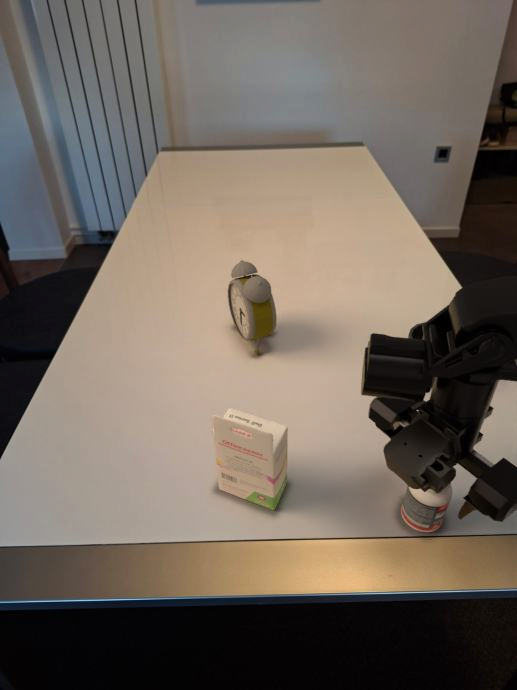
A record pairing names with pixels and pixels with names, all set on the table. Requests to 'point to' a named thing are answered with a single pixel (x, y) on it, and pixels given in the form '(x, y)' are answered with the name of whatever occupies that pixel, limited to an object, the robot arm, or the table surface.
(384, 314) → the table surface
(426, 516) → the pill bottle
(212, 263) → the table surface
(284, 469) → the white medicine box
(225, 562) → the table surface
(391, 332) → the table surface
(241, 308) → the alarm clock
